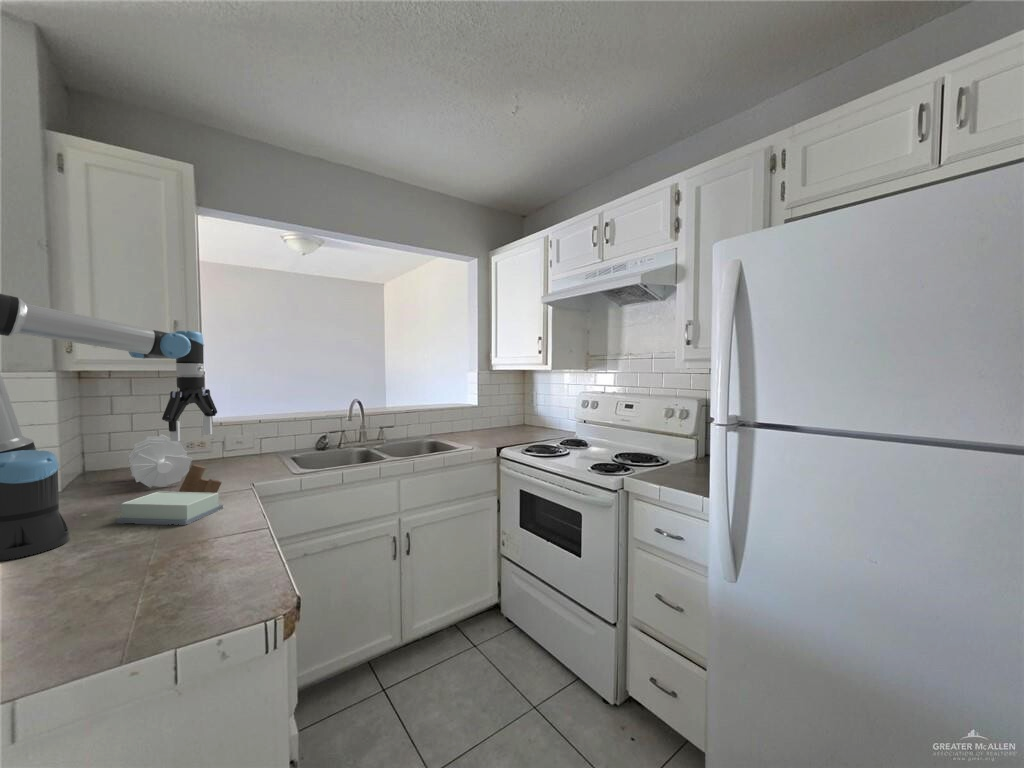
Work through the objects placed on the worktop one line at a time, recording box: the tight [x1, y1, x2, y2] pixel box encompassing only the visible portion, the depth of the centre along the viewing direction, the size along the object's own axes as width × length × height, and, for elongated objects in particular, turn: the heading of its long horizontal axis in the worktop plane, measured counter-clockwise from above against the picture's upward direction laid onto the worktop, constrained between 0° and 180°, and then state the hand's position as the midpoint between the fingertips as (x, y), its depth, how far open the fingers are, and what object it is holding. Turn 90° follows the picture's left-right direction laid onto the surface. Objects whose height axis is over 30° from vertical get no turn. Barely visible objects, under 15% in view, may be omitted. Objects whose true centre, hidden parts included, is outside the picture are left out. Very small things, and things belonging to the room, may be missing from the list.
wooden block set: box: [178, 464, 222, 493], centre depth 145 cm, size 18×9×10 cm, turn 54°
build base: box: [115, 491, 224, 526], centre depth 124 cm, size 14×21×5 cm, turn 87°
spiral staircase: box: [127, 433, 193, 489], centre depth 160 cm, size 18×18×25 cm
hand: (192, 437), depth 142 cm, fingers open, 13 cm apart
